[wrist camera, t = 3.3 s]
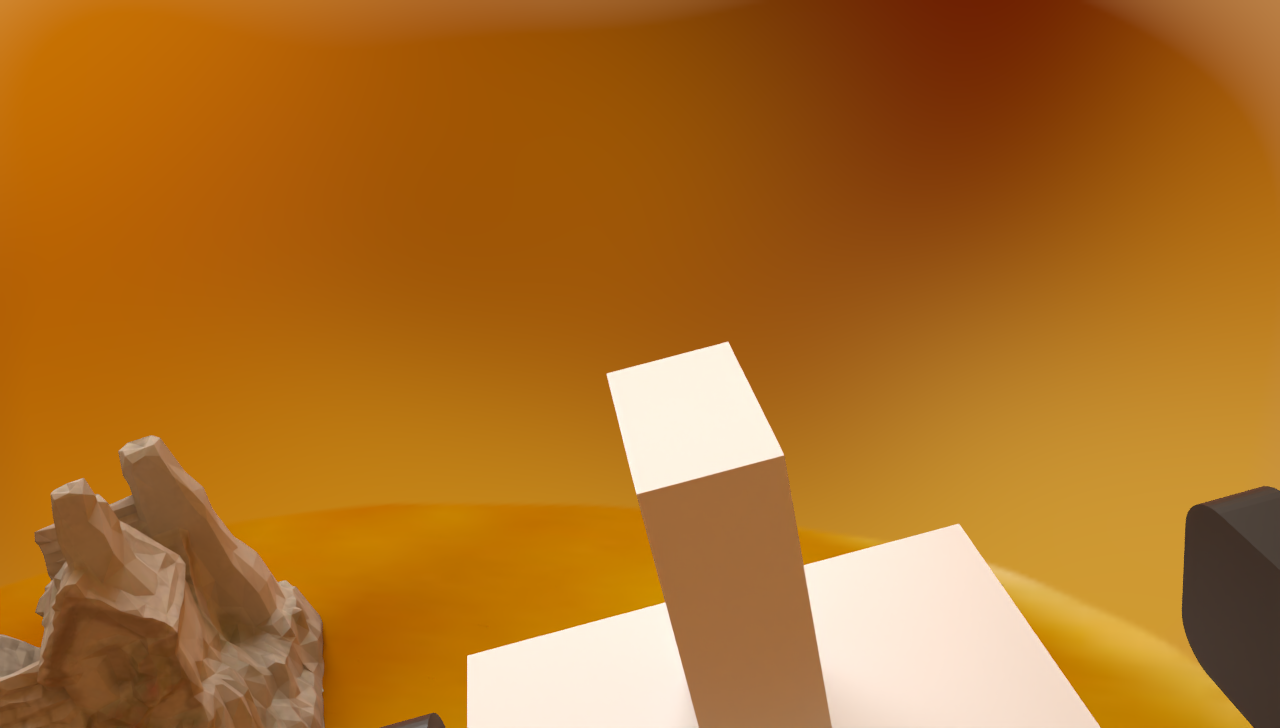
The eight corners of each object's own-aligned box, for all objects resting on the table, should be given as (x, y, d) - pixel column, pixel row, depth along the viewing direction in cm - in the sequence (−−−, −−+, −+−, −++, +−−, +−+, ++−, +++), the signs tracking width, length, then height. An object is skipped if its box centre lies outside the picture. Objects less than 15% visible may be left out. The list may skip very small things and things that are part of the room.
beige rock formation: (349, 575, 50) (198, 317, 42) (304, 893, 36) (65, 594, 28) (46, 671, 50) (-160, 432, 42) (-117, 1024, 36) (-470, 763, 28)
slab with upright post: (1158, 893, 24) (1184, 451, 18) (502, 1076, 24) (295, 689, 17) (964, 590, 34) (936, 232, 27) (492, 717, 33) (356, 383, 27)
